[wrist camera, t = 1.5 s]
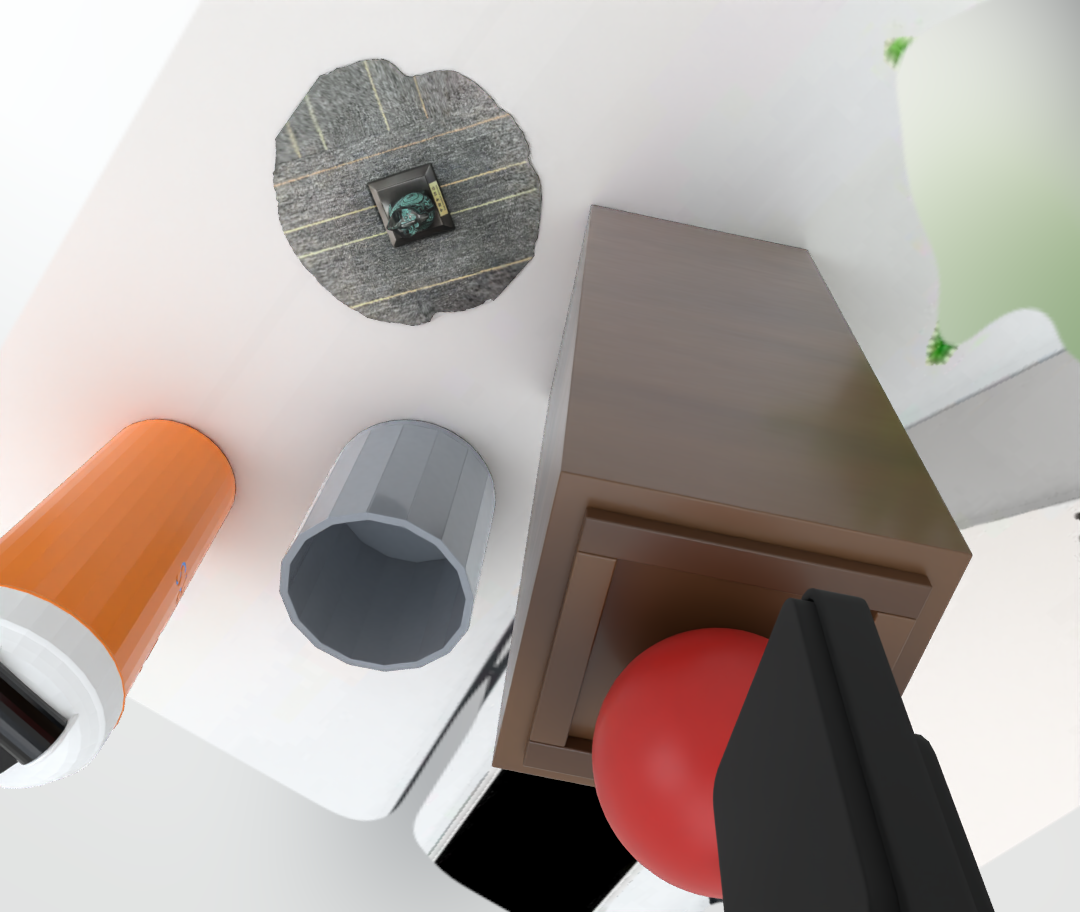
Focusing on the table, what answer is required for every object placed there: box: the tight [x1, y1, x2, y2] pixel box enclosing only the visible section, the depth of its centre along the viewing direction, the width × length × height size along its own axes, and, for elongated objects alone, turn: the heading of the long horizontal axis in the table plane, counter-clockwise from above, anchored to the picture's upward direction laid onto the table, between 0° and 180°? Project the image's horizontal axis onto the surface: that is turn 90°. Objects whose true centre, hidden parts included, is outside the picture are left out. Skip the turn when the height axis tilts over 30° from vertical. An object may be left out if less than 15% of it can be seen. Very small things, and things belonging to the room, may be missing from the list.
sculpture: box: [273, 59, 542, 326], centre depth 44 cm, size 12×9×8 cm
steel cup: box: [279, 420, 496, 671], centre depth 48 cm, size 9×9×9 cm
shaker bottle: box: [0, 419, 236, 788], centre depth 44 cm, size 9×9×20 cm
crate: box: [492, 205, 972, 787], centre depth 36 cm, size 10×10×24 cm
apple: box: [592, 628, 769, 899], centre depth 22 cm, size 6×6×7 cm
